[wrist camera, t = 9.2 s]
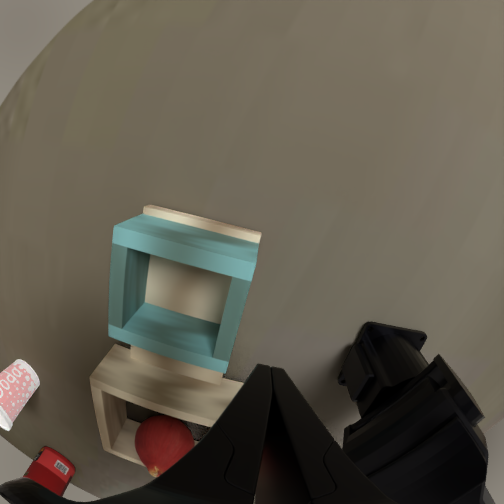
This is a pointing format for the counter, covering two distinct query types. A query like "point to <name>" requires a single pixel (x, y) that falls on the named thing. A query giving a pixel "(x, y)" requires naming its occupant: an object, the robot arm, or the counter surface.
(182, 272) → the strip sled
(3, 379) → the beverage cup
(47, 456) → the canned food
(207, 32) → the counter surface
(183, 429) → the onion
